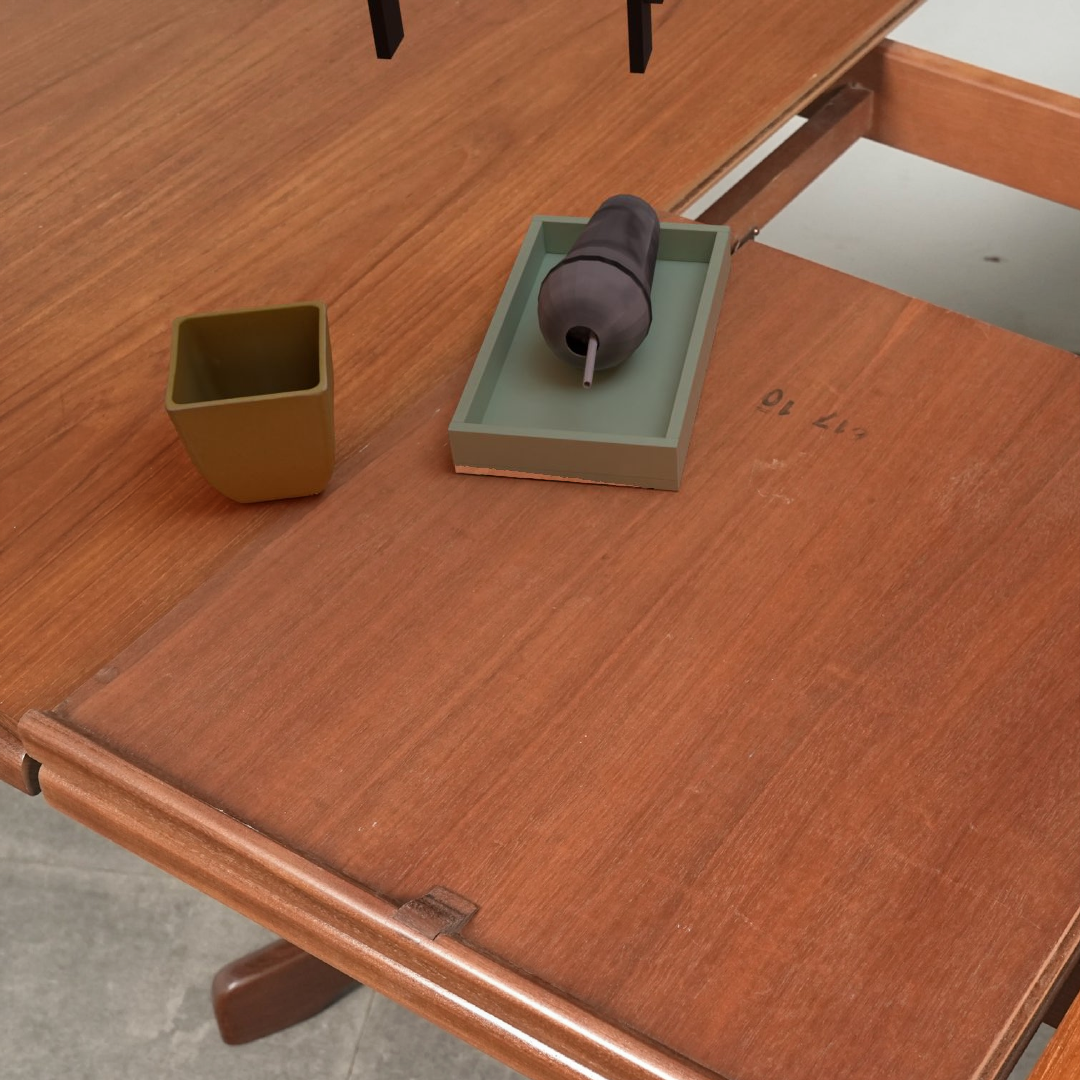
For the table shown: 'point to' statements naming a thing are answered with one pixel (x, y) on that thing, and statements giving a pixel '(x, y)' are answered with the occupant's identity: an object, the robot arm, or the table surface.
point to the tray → (617, 392)
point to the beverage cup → (603, 288)
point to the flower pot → (255, 399)
